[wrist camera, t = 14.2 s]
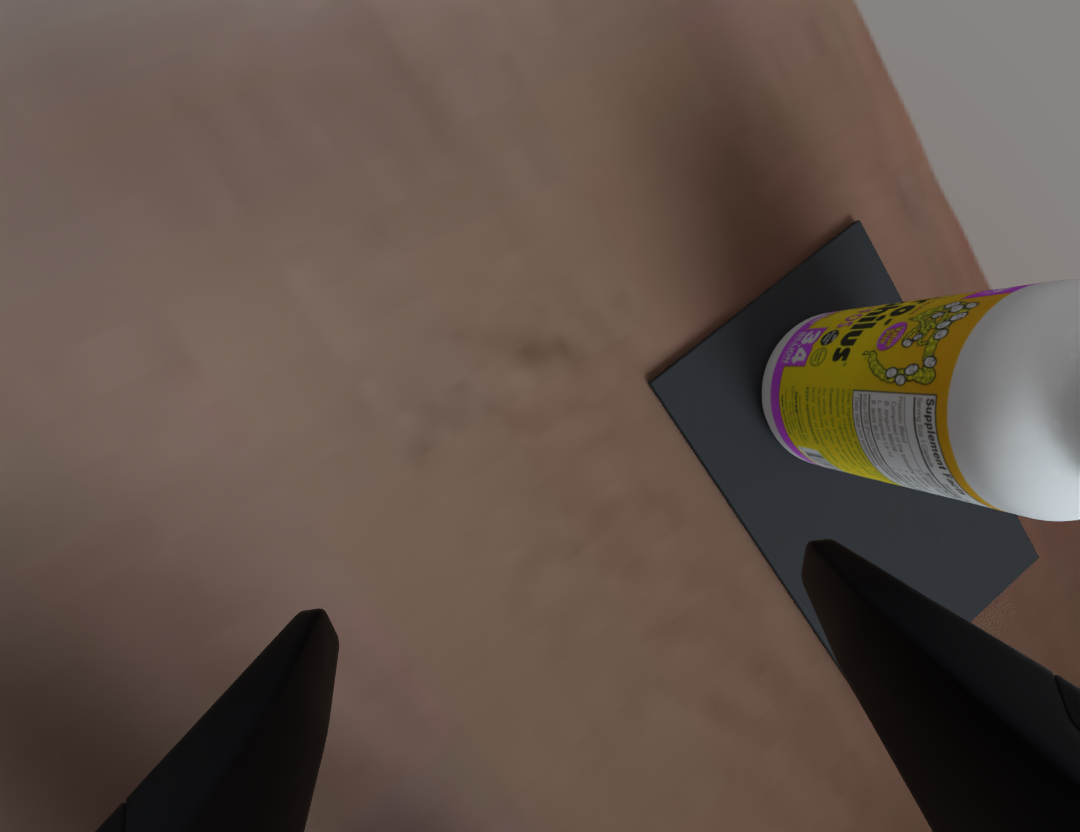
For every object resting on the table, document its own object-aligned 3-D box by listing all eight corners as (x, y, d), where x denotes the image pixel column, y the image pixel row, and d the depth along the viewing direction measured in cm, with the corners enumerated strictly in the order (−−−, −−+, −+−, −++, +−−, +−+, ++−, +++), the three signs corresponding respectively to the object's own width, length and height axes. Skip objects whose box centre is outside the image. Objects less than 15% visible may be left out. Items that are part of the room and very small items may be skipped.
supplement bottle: (862, 292, 24) (1360, 204, 11) (898, 430, 25) (1391, 492, 12) (734, 344, 22) (1126, 313, 10) (777, 486, 23) (1181, 620, 11)
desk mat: (1032, 555, 27) (1039, 557, 27) (867, 711, 26) (872, 715, 26) (854, 221, 23) (859, 219, 23) (647, 383, 22) (650, 383, 22)
